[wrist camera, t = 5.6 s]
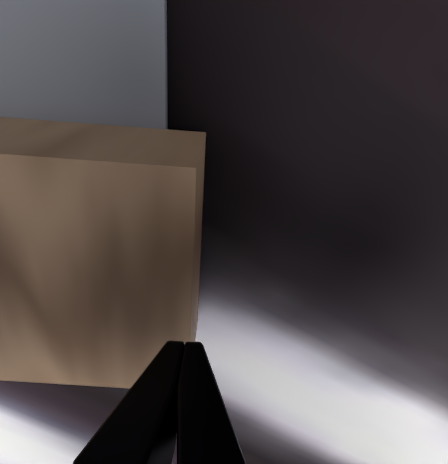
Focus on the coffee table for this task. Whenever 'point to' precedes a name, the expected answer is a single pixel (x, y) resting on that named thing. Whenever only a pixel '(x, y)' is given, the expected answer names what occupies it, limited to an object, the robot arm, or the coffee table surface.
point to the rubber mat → (84, 61)
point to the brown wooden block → (96, 248)
